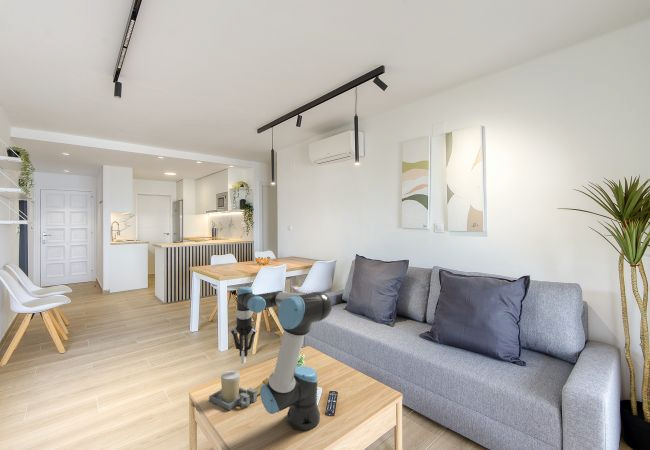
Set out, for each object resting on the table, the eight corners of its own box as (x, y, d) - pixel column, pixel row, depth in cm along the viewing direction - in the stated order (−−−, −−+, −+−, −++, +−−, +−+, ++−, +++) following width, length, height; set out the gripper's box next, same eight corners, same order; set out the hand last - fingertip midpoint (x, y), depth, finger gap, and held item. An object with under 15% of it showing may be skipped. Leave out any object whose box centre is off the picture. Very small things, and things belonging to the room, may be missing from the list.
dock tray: (258, 399, 155) (258, 389, 155) (237, 415, 143) (237, 404, 142) (230, 388, 164) (230, 378, 164) (209, 401, 152) (209, 391, 152)
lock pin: (266, 384, 167) (267, 377, 167) (272, 386, 165) (272, 379, 165) (247, 397, 154) (247, 390, 154) (253, 400, 152) (253, 393, 152)
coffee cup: (242, 393, 159) (243, 370, 158) (235, 404, 149) (236, 380, 149) (225, 391, 160) (225, 369, 159) (217, 402, 150) (217, 378, 150)
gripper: (258, 315, 161) (257, 359, 162) (234, 314, 162) (233, 358, 162) (254, 320, 153) (253, 366, 154) (229, 318, 154) (228, 365, 155)
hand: (243, 362), depth 158 cm, fingers closed
